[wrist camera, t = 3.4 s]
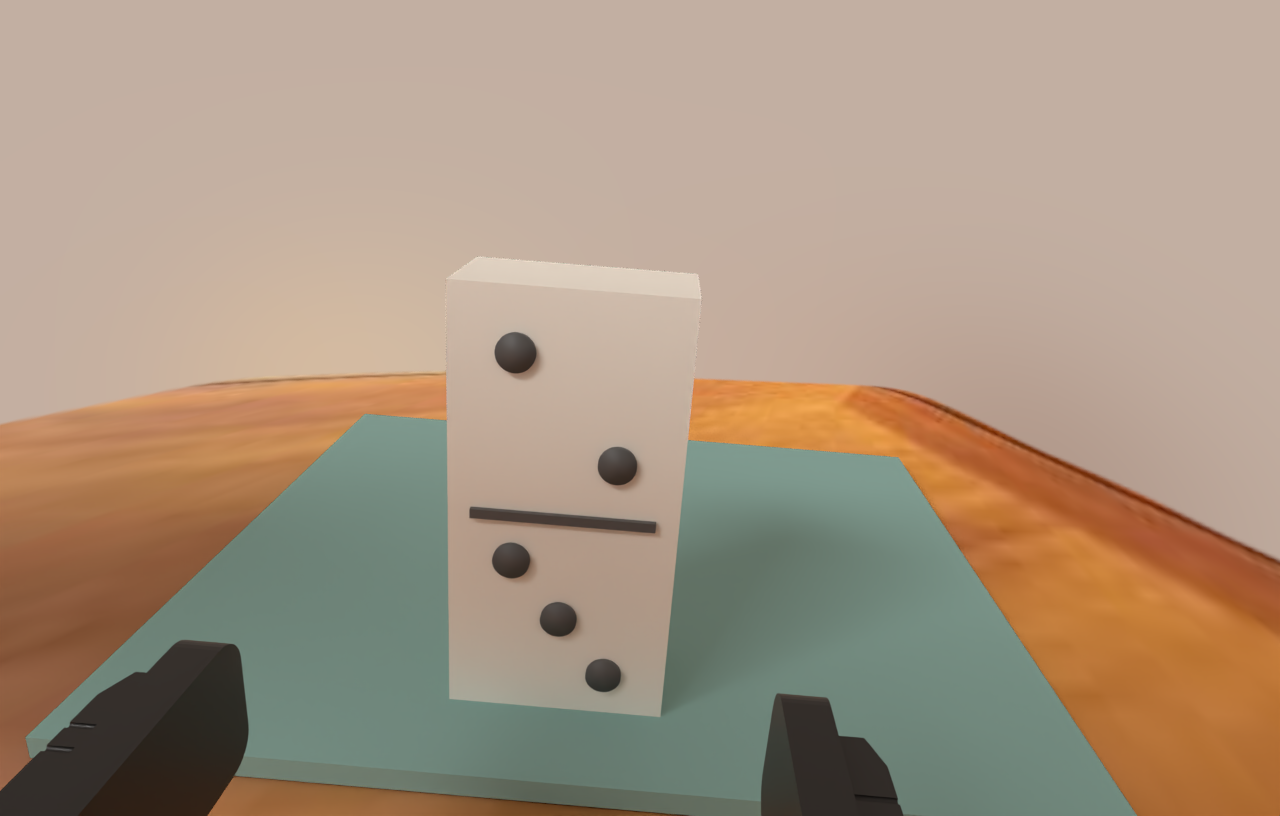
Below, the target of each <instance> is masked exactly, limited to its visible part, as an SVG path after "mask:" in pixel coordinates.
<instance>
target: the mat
mask: <svg viewBox="0 0 1280 816" xmlns="http://www.w3.org/2000/svg"><path fill="white" fill-rule="evenodd" d="M180 640H195V641H206V642H218V643H229V644H234V645H236V646H237V647H238V649H239V651H240V655H241V662H242V670H243V679H244V688H245V697H246V706H247V715H248V724H249V735H248V742H247V747H246V751H245V754H244V757H243V760H242V762H241V764H240V766H239V768H238V770H237V772H236V774H235V775H234V776H243V777H255V778H266V779H278V780H289V781H301V782H312V783H323V784H335V785H346V786H358V787H369V788H381V789H392V790H403V791H415V792H426V793H438V794H449V795H461V796H472V797H483V798H495V799H506V800H518V801H529V802H541V803H552V804H563V805H575V806H586V807H598V808H609V809H621V810H632V811H644V812H655V813H666V814H678V815H689V816H761V784H762V774H763V767H764V761H765V754H766V748H767V742H768V735H769V729H770V722H771V716H772V709H773V704H774V699H775V696H776V694H777V693H781V694H792V695H804V696H815V697H826V698H828V700H829V702H830V704H831V708H832V712H833V716H834V719H835V723H836V727H837V731H838V735H839V736H848V737H860V738H865V739H866V741H867V742H868V743H869V744H870V746H871V747H872V748H873V749H874V750H875V752H876V753H877V754H878V755H879V757H880V758H881V759H882V760H883V761H884V763H885V764H886V765H887V766H888V769H889V772H890V775H891V778H892V781H893V785H894V788H895V791H896V794H897V797H898V804H900V806H901V809H902V812H903V815H904V816H1137V815H1136V813H1135V812H1134V810H1133V809H1132V807H1131V806H1130V804H1129V803H1128V801H1127V800H1126V798H1125V797H1124V795H1123V794H1122V792H1121V791H1120V789H1119V788H1118V786H1117V785H1116V783H1115V782H1114V780H1113V779H1112V777H1111V776H1110V774H1109V773H1108V771H1107V770H1106V768H1105V767H1104V765H1103V764H1102V762H1101V761H1100V759H1099V758H1098V756H1097V755H1096V753H1095V752H1094V750H1093V749H1092V747H1091V746H1090V744H1089V743H1088V741H1087V740H1086V738H1085V737H1084V735H1083V734H1082V732H1081V731H1080V729H1079V728H1078V726H1077V725H1076V723H1075V722H1074V720H1073V719H1072V717H1071V716H1070V714H1069V713H1068V711H1067V710H1066V708H1065V707H1064V705H1063V704H1062V702H1061V701H1060V699H1059V698H1058V696H1057V695H1056V693H1055V692H1054V690H1053V689H1052V687H1051V686H1050V684H1049V683H1048V681H1047V680H1046V678H1045V677H1044V675H1043V674H1042V672H1041V671H1040V669H1039V668H1038V666H1037V665H1036V663H1035V662H1034V660H1033V659H1032V657H1031V656H1030V654H1029V653H1028V651H1027V650H1026V648H1025V647H1024V645H1023V644H1022V642H1021V641H1020V639H1019V638H1018V636H1017V635H1016V633H1015V632H1014V630H1013V629H1012V627H1011V626H1010V624H1009V623H1008V621H1007V620H1006V618H1005V617H1004V615H1003V614H1002V612H1001V611H1000V609H999V608H998V606H997V605H996V603H995V602H994V600H993V599H992V597H991V596H990V594H989V593H988V591H987V590H986V588H985V587H984V585H983V584H982V582H981V581H980V579H979V578H978V576H977V575H976V573H975V572H974V570H973V569H972V567H971V566H970V564H969V563H968V561H967V560H966V558H965V557H964V555H963V554H962V552H961V551H960V549H959V548H958V546H957V545H956V543H955V542H954V540H953V539H952V537H951V536H950V534H949V533H948V531H947V530H946V528H945V527H944V525H943V524H942V522H941V521H940V519H939V518H938V516H937V515H936V513H935V512H934V510H933V509H932V507H931V506H930V504H929V503H928V501H927V500H926V498H925V497H924V495H923V494H922V492H921V491H920V489H919V488H918V486H917V485H916V483H915V482H914V480H913V479H912V477H911V476H910V474H909V473H908V471H907V470H906V468H905V467H904V465H903V464H902V462H901V461H900V459H899V458H898V457H887V456H875V455H862V454H850V453H838V452H826V451H814V450H801V449H789V448H777V447H765V446H752V445H740V444H728V443H716V442H703V441H691V440H688V444H687V454H686V464H685V474H684V484H683V494H682V504H681V514H680V524H679V534H678V544H677V554H676V564H675V574H674V585H673V595H672V605H671V615H670V625H669V635H668V645H667V655H666V665H665V675H664V685H663V695H662V705H661V715H660V717H653V716H642V715H630V714H619V713H607V712H595V711H584V710H572V709H560V708H549V707H537V706H525V705H514V704H502V703H491V702H479V701H467V700H456V699H449V610H448V496H447V421H446V420H434V419H422V418H410V417H397V416H385V415H373V414H364V415H363V416H362V417H361V418H360V419H359V420H358V421H357V422H356V423H355V424H354V425H353V426H352V427H351V428H350V429H349V430H348V431H346V432H345V433H344V434H343V435H342V436H341V437H340V438H339V439H338V440H337V441H336V442H335V443H334V444H333V445H332V446H331V447H330V448H329V449H328V450H327V451H325V452H324V453H323V454H322V455H321V456H320V457H319V458H318V459H317V460H316V461H315V462H314V463H313V464H312V465H311V466H310V467H309V468H308V469H307V470H306V471H304V472H303V473H302V474H301V475H300V476H299V477H298V478H297V479H296V480H295V481H294V482H293V483H292V484H291V485H290V486H289V487H288V488H287V489H286V490H285V491H283V492H282V493H281V494H280V495H279V496H278V497H277V498H276V499H275V500H274V501H273V502H272V503H271V504H270V505H269V506H268V507H267V508H266V509H265V510H264V511H262V512H261V513H260V514H259V515H258V516H257V517H256V518H255V519H254V520H253V521H252V522H251V523H250V524H249V525H248V526H247V527H246V528H245V529H244V530H243V531H241V532H240V533H239V534H238V535H237V536H236V537H235V538H234V539H233V540H232V541H231V542H230V543H229V544H228V545H227V546H226V547H225V548H224V549H223V550H222V551H220V552H219V553H218V554H217V555H216V556H215V557H214V558H213V559H212V560H211V561H210V562H209V563H208V564H207V565H206V566H205V567H204V568H203V569H202V570H201V571H199V572H198V573H197V574H196V575H195V576H194V577H193V578H192V579H191V580H190V581H189V582H188V583H187V584H186V585H185V586H184V587H183V588H182V589H181V590H180V591H178V592H177V593H176V594H175V595H174V596H173V597H172V598H171V599H170V600H169V601H168V602H167V603H166V604H165V605H164V606H163V607H162V608H161V609H160V610H159V611H157V612H156V613H155V614H154V615H153V616H152V617H151V618H150V619H149V620H148V621H147V622H146V623H145V624H144V625H143V626H142V627H141V628H140V629H139V630H138V631H136V632H135V633H134V634H133V635H132V636H131V637H130V638H129V639H128V640H127V641H126V642H125V643H124V644H123V645H122V646H121V647H120V648H119V649H118V650H116V651H115V652H114V653H113V654H112V655H111V656H110V657H109V658H108V659H107V660H106V661H105V662H104V663H103V664H102V665H101V666H100V667H99V668H98V669H97V670H95V671H94V672H93V673H92V674H91V675H90V676H89V677H88V678H87V679H86V680H85V681H84V682H83V683H82V684H81V685H80V686H79V687H78V688H77V689H76V690H74V691H73V692H72V693H71V694H70V695H69V696H68V697H67V698H66V699H65V700H64V701H63V702H62V703H61V704H60V705H59V706H58V707H57V708H56V709H55V710H53V711H52V712H51V713H50V714H49V715H48V716H47V717H46V718H45V719H44V720H43V721H42V722H41V723H40V724H39V725H38V726H37V727H36V728H35V729H34V730H32V731H31V732H30V733H29V734H28V735H27V736H26V737H25V738H26V742H27V747H28V751H29V756H30V758H34V757H35V756H36V755H37V754H38V753H39V752H40V751H45V750H46V747H47V744H48V743H49V742H50V741H51V740H52V739H53V738H54V737H55V736H56V735H57V734H58V733H59V732H60V731H61V730H62V729H63V728H64V727H65V728H68V727H69V725H70V721H71V720H72V719H73V718H74V717H75V716H76V715H77V714H78V713H79V712H80V711H81V710H82V709H83V708H84V707H85V706H86V705H87V704H88V703H89V702H90V701H91V700H92V699H93V698H94V697H95V696H96V695H97V694H99V693H101V692H102V691H104V690H106V689H107V688H109V687H111V686H112V685H114V684H116V683H118V682H119V681H121V680H123V679H124V678H126V677H128V676H129V675H131V674H133V673H134V672H145V673H147V672H148V671H149V670H150V668H151V667H152V666H153V665H154V664H155V663H156V662H157V661H158V660H159V659H160V658H161V657H162V656H163V655H164V654H165V653H166V652H167V651H168V650H169V649H170V648H171V647H172V646H173V645H174V644H175V643H176V642H178V641H180Z"/></svg>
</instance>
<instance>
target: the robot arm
mask: <svg viewBox="0 0 1280 816" xmlns="http://www.w3.org/2000/svg"><path fill="white" fill-rule="evenodd" d="M248 735H249V724H248V715H247V706H246V697H245V688H244V679H243V670H242V662H241V655H240V651H239V649H238V647H237V646H236V645H234V644H229V643H218V642H206V641H195V640H180V641H178V642H176V643H175V644H174V645H173V646H172V647H171V648H170V649H169V650H168V651H167V652H166V653H165V654H164V655H163V656H162V657H161V658H160V659H159V660H158V661H157V662H156V663H155V664H154V665H153V666H152V667H151V668H150V670H149V671H148V672H147V673H145V672H134V673H133V674H131V675H129V676H128V677H126V678H124V679H123V680H121V681H119V682H118V683H116V684H114V685H112V686H111V687H109V688H107V689H106V690H104V691H102V692H101V693H99V694H97V695H96V696H95V697H94V698H93V699H92V700H91V701H90V702H89V703H88V704H87V705H86V706H85V707H84V708H83V709H82V710H81V711H80V712H79V713H78V714H77V715H76V716H75V717H74V718H73V719H72V720H71V721H70V725H69V727H68V728H65V727H64V728H63V729H62V730H61V731H60V732H59V733H58V734H57V735H56V736H55V737H54V738H53V739H52V740H51V741H50V742H49V743H48V744H47V747H46V750H45V751H40V752H39V753H38V754H37V755H36V756H35V757H34V758H33V759H32V760H31V761H30V762H29V763H28V764H27V765H26V766H25V767H24V768H23V769H22V770H21V771H20V772H19V773H18V774H17V775H16V776H15V777H14V778H13V779H12V780H11V781H10V782H9V783H8V784H7V785H6V786H5V787H4V788H3V789H2V790H1V791H0V816H207V815H208V814H209V812H210V811H211V809H212V808H213V806H214V805H215V803H216V802H217V800H218V799H219V797H220V796H221V794H222V793H223V791H224V790H225V788H226V787H227V786H228V784H229V783H230V781H231V780H232V778H233V777H234V775H235V774H236V772H237V770H238V768H239V766H240V764H241V762H242V760H243V757H244V754H245V751H246V747H247V742H248ZM761 816H904V815H903V812H902V809H901V806H900V804H898V797H897V794H896V791H895V788H894V785H893V781H892V778H891V775H890V772H889V769H888V766H887V765H886V764H885V763H884V761H883V760H882V759H881V758H880V757H879V755H878V754H877V753H876V752H875V750H874V749H873V748H872V747H871V746H870V744H869V743H868V742H867V741H866V739H865V738H860V737H848V736H839V735H838V731H837V727H836V723H835V719H834V716H833V712H832V708H831V704H830V702H829V700H828V698H826V697H815V696H804V695H792V694H781V693H777V694H776V696H775V699H774V704H773V709H772V716H771V722H770V729H769V735H768V742H767V748H766V754H765V761H764V767H763V774H762V784H761Z"/></svg>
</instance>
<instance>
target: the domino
mask: <svg viewBox="0 0 1280 816" xmlns="http://www.w3.org/2000/svg"><path fill="white" fill-rule="evenodd" d="M701 302H702V297H701V290H700V284H699V278H698V274H693V273H680V272H666V271H655V270H642V269H629V268H617V267H604V266H603V267H602V266H591V265H579V264H565V263H554V262H541V261H540V262H539V261H528V260H515V259H502V258H490V257H476V258H475V259H473V260H472V261H470V262H469V263H468V264H466V265H465V266H463V267H462V268H460V269H459V270H458V271H456V272H455V273H453V274H452V275H450V276H449V277H447V278H446V381H447V496H448V610H449V699H456V700H467V701H479V702H491V703H502V704H514V705H525V706H537V707H549V708H560V709H572V710H584V711H595V712H607V713H619V714H630V715H642V716H653V717H660V715H661V705H662V695H663V685H664V675H665V665H666V655H667V645H668V635H669V625H670V615H671V605H672V595H673V585H674V574H675V564H676V554H677V544H678V534H679V524H680V514H681V504H682V494H683V484H684V474H685V464H686V454H687V444H688V434H689V423H690V413H691V403H692V393H693V383H694V373H695V363H696V353H697V343H698V333H699V323H700V313H701Z"/></svg>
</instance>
